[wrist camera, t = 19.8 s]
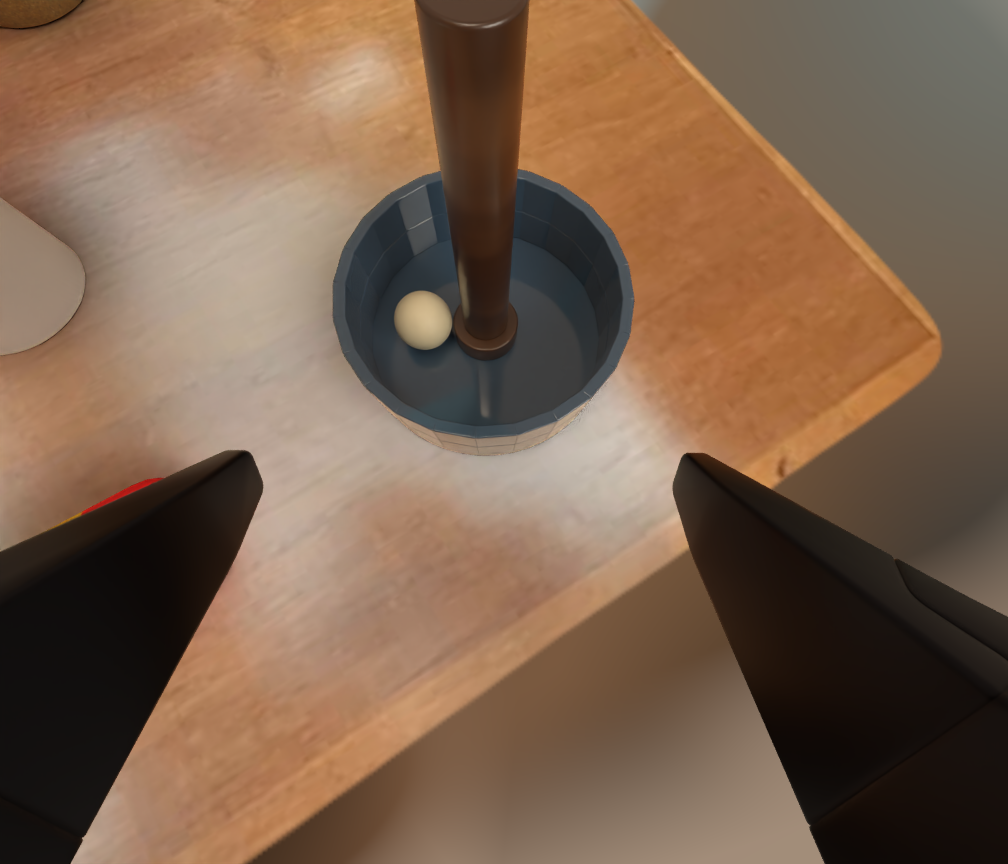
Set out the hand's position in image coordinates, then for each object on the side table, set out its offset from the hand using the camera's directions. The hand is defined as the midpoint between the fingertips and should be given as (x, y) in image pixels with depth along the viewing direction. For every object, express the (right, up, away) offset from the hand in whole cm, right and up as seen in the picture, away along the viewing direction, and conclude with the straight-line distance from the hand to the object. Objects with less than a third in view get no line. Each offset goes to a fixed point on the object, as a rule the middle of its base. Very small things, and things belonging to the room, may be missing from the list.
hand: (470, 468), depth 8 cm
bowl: (0, +6, +12) cm, 13 cm away
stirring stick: (0, +6, +11) cm, 12 cm away
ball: (-3, +6, +10) cm, 12 cm away
